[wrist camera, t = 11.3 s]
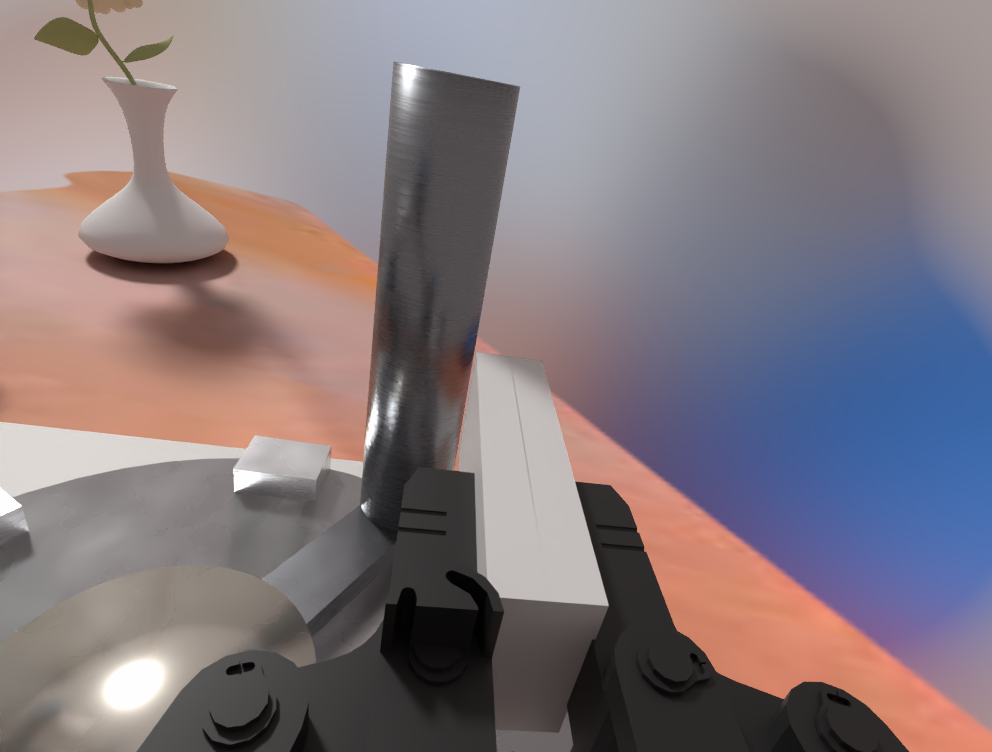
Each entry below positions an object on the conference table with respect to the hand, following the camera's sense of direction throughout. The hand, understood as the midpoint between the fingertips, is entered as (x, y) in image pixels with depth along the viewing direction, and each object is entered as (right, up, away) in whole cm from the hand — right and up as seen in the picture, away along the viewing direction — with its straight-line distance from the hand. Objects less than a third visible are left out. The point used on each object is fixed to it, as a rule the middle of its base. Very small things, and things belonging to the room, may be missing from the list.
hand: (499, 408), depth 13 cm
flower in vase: (-31, +12, +37) cm, 50 cm away
